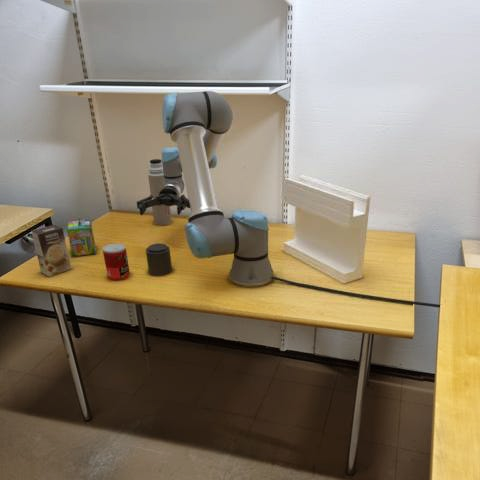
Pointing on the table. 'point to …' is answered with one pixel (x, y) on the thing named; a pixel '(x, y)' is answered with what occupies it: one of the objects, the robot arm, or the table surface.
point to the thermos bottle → (156, 184)
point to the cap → (158, 259)
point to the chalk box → (81, 237)
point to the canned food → (116, 261)
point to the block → (328, 227)
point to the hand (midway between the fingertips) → (159, 211)
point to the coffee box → (51, 250)
